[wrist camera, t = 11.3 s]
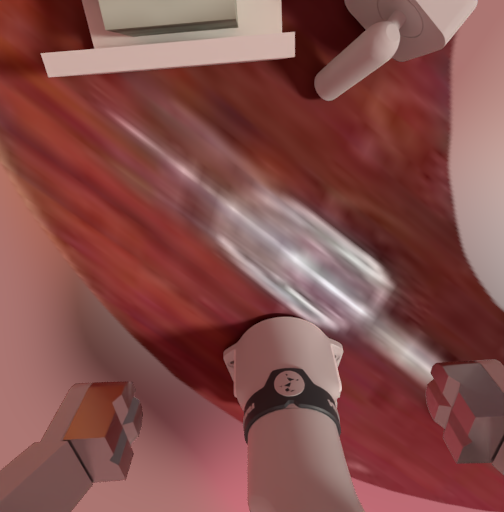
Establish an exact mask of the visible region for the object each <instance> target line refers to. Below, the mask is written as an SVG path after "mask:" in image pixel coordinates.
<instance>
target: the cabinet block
mask: <svg viewBox="0 0 504 512" xmlns="http://www.w3.org/2000/svg"><path fill="white" fill-rule="evenodd" d="M98 1H99V5H100V10H101V14H102V18H103V22H104V26H105V30H107V31H111V32H115V33H119V34H123V35H127V36H132V37H137V36H149V35H160V34H171V33H183V32H194V31H206V30H217V29H228V28H238V16H237V3H236V0H98Z"/></svg>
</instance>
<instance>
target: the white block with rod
mask: <svg viewBox="0 0 504 512" xmlns="http://www.w3.org/2000/svg"><path fill="white" fill-rule="evenodd" d="M344 1H345V5H346V7H347V9H348V10H349V12H350V13H351V14H352V15H353V16H354V17H355V19H356V20H357V21H358V22H359V23H360V24H361V25H362V26H363V27H364V29H365V31H364V32H363V33H362V34H361V35H360V36H359V37H358V38H356V39H355V40H354V41H353V42H352V43H351V44H350V45H349V46H348V47H346V48H345V49H344V50H343V51H342V52H341V53H340V54H339V55H338V56H336V57H335V58H334V59H333V60H332V61H331V62H330V63H329V64H328V65H326V66H325V67H324V68H323V69H322V70H321V71H320V72H319V73H318V74H317V75H316V77H315V81H314V85H315V89H316V92H317V93H318V95H319V96H320V97H321V98H322V99H324V100H327V101H331V100H334V99H335V98H337V97H338V96H339V95H341V94H342V93H344V92H345V91H346V90H348V89H349V88H351V87H352V86H353V85H355V84H356V83H358V82H359V81H361V80H362V79H363V78H365V77H366V76H368V75H369V74H370V73H372V72H373V71H375V70H376V69H377V68H379V67H380V66H382V65H383V64H384V63H386V62H387V61H388V60H390V59H391V58H393V59H395V60H397V61H400V62H404V61H407V60H410V59H413V58H416V57H419V56H422V55H426V54H429V53H432V52H435V51H437V50H440V49H442V48H443V47H444V46H445V45H446V44H447V42H448V41H449V40H450V39H451V38H452V36H453V35H454V34H455V33H456V31H457V30H458V29H459V28H460V27H461V25H462V24H463V23H464V22H465V20H466V19H467V18H468V17H469V15H470V14H471V13H472V12H473V11H474V9H475V8H476V6H477V3H478V0H344Z"/></svg>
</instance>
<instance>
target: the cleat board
mask: <svg viewBox="0 0 504 512" xmlns="http://www.w3.org/2000/svg"><path fill="white" fill-rule="evenodd" d="M82 3H83V7H84V11H85V15H86V19H87V22H88V26H89V30H90V34H91V38H92V42H93V46H94V49H86V50H74V51H63V52H51V53H41V56H42V59H43V62H44V66H45V69H46V72H47V75H48V77H62V76H78V75H94V74H109V73H121V72H134V71H146V70H158V69H170V68H182V67H194V66H206V65H218V64H230V63H242V62H254V61H266V60H278V59H286V58H291V57H295V32H286V33H282V7H281V0H236V3H237V16H238V28H228V29H217V30H206V31H194V32H183V33H171V34H160V35H149V36H137V37H132V36H127V35H123V34H119V33H115V32H111V31H107V30H105V26H104V22H103V18H102V14H101V10H100V5H99V1H98V0H82Z"/></svg>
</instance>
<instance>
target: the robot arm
mask: <svg viewBox="0 0 504 512" xmlns="http://www.w3.org/2000/svg"><path fill="white" fill-rule="evenodd" d="M342 354H343V347H342V345H341V344H340V343H339V342H337V341H335V340H332V339H330V338H328V337H327V336H326V335H325V334H324V333H323V332H322V331H321V330H320V329H319V328H318V327H317V326H315V325H314V324H312V323H310V322H308V321H306V320H303V319H300V318H295V317H276V318H271V319H267V320H264V321H261V322H259V323H257V324H255V325H254V326H252V327H251V328H249V329H248V330H247V331H246V332H245V333H244V334H243V336H242V337H241V338H240V340H239V341H238V342H237V343H236V344H234V345H232V346H231V347H229V348H227V349H226V350H225V351H224V353H223V359H224V362H225V364H226V366H227V368H228V371H229V373H230V375H231V377H232V380H233V382H234V396H235V397H236V398H237V399H238V402H239V404H240V406H241V407H242V409H243V411H244V419H243V427H244V436H245V441H246V443H247V445H248V506H249V510H250V512H365V511H364V509H363V507H362V505H361V503H360V501H359V499H358V497H357V494H356V492H355V489H354V486H353V483H352V480H351V477H350V474H349V470H348V467H347V464H346V460H345V457H344V453H343V449H342V446H341V442H340V438H339V437H340V433H341V428H340V421H339V420H340V419H339V414H338V411H337V409H336V408H337V398H340V391H341V390H342V387H341V382H340V377H339V373H338V365H339V363H340V360H341V357H342ZM431 375H432V376H433V378H434V379H433V380H432V381H431V382H430V383H428V384H427V388H426V402H427V406H428V409H429V412H430V414H431V416H432V418H433V420H434V421H435V422H436V423H438V424H439V425H440V426H442V427H443V428H444V433H443V439H444V441H445V443H446V444H447V446H448V448H449V450H450V452H451V454H452V456H453V458H454V460H455V461H456V463H492V465H493V466H494V467H495V468H496V469H497V470H499V471H500V472H501V473H502V474H503V475H504V366H503V365H502V364H501V363H500V362H499V361H497V360H495V359H494V360H477V361H458V362H444V363H436V364H434V365H433V366H432V370H431ZM134 393H135V387H134V385H133V382H101V383H78V384H74V385H73V386H72V387H71V388H70V389H69V391H68V393H67V395H66V396H65V398H64V400H63V402H62V403H61V405H60V407H59V409H58V411H57V412H56V414H55V416H54V418H53V420H52V421H51V423H50V425H49V427H48V429H47V430H46V432H45V434H44V436H43V438H42V440H41V441H40V442H36V443H33V444H32V445H31V446H30V447H28V448H27V449H26V450H25V451H23V452H22V453H21V454H20V455H19V456H17V457H16V458H15V459H14V460H13V461H11V462H10V463H9V464H8V465H7V466H5V467H4V468H3V469H2V470H1V471H0V512H71V511H72V510H73V509H74V507H75V506H76V505H77V504H78V502H79V501H80V500H81V499H82V498H83V496H84V495H85V494H86V493H87V491H88V490H89V489H90V488H91V487H92V485H93V484H92V483H95V482H107V481H120V480H126V477H127V474H128V471H129V467H130V464H131V460H132V457H133V451H132V448H131V444H132V443H133V442H134V441H135V440H136V439H137V438H138V437H139V434H140V430H141V426H142V416H143V413H142V406H141V403H140V401H139V400H138V399H136V398H135V397H134Z"/></svg>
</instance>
